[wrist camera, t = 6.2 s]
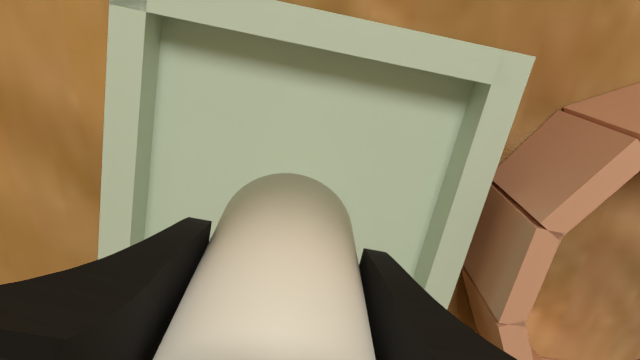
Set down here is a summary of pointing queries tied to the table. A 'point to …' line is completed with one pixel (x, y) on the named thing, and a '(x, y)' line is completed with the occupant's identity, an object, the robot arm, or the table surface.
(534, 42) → the table surface
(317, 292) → the peg
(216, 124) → the tray
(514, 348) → the segmented salmon ring
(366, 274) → the robot arm
